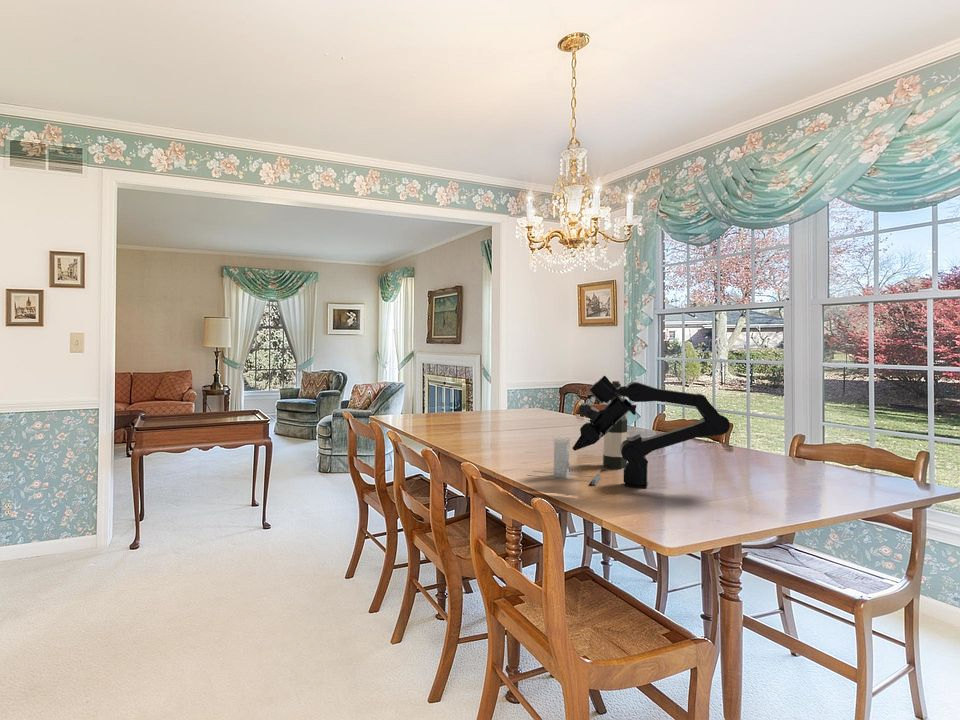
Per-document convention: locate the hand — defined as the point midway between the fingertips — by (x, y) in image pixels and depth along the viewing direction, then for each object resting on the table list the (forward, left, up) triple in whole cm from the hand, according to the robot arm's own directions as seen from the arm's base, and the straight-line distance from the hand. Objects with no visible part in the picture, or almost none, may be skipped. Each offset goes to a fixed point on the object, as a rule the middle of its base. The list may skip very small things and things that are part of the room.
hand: (576, 447), depth 176 cm
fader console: (+5, 0, -10) cm, 11 cm away
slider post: (+5, 0, -10) cm, 11 cm away
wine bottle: (-8, -25, -11) cm, 28 cm away
